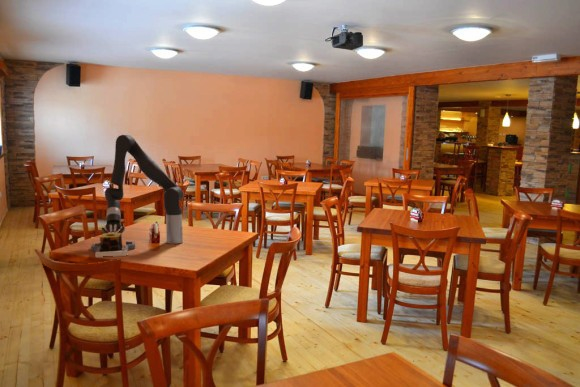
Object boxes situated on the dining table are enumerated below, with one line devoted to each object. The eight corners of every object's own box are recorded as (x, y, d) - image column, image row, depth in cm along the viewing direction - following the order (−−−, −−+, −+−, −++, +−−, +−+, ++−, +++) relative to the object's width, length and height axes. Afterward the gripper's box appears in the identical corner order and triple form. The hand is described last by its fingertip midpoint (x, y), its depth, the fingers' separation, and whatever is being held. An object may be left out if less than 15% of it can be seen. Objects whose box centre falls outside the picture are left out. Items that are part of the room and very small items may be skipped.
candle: (119, 255, 263) (118, 237, 261) (99, 255, 261) (99, 237, 260) (123, 250, 273) (122, 232, 271) (104, 250, 271) (103, 233, 270)
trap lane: (135, 245, 284) (135, 240, 283) (134, 255, 262) (134, 250, 262) (92, 247, 277) (92, 243, 277) (88, 257, 256) (88, 253, 256)
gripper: (100, 213, 277) (99, 239, 267) (125, 212, 281) (125, 238, 271) (102, 220, 283) (100, 246, 273) (125, 219, 286) (125, 245, 277)
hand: (112, 242), depth 272 cm, fingers closed
